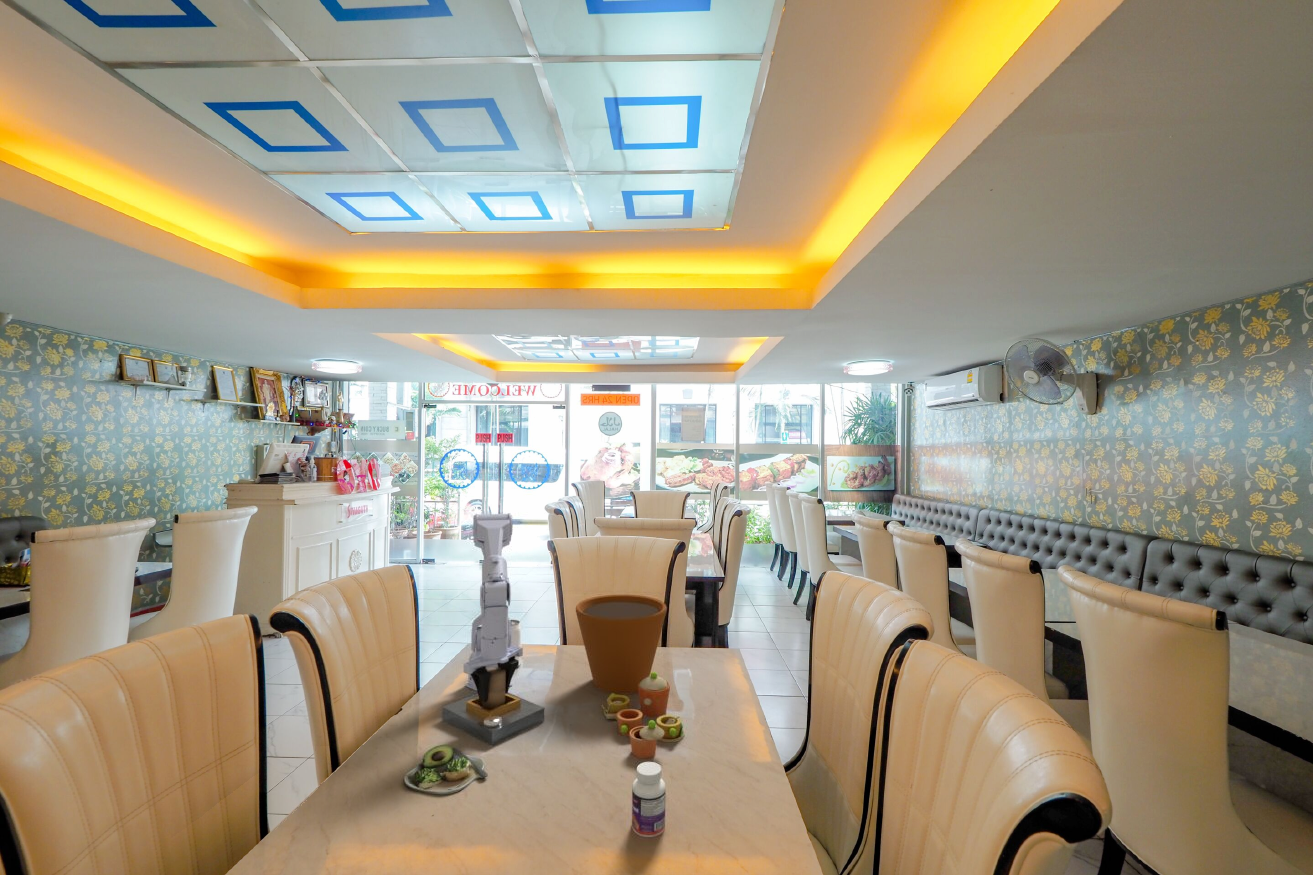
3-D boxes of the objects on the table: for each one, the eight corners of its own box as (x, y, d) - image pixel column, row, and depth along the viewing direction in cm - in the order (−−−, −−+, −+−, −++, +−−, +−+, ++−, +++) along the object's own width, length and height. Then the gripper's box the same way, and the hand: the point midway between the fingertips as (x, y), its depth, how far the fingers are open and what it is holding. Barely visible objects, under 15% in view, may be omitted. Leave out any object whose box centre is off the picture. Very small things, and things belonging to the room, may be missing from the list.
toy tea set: (598, 709, 136) (598, 668, 136) (660, 701, 141) (660, 661, 141) (628, 768, 111) (629, 717, 112) (702, 755, 116) (703, 707, 117)
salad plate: (506, 765, 112) (506, 747, 112) (461, 806, 99) (461, 785, 99) (443, 752, 117) (443, 734, 117) (392, 789, 104) (393, 769, 104)
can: (523, 661, 165) (524, 619, 165) (516, 670, 159) (516, 626, 159) (501, 660, 166) (502, 618, 166) (493, 669, 159) (494, 625, 160)
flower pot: (556, 680, 152) (558, 604, 153) (626, 659, 168) (627, 590, 169) (612, 711, 135) (613, 625, 135) (684, 684, 151) (685, 607, 151)
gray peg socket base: (442, 720, 129) (442, 699, 129) (494, 699, 140) (494, 680, 141) (491, 746, 118) (492, 724, 118) (544, 721, 129) (544, 700, 130)
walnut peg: (477, 708, 129) (478, 672, 129) (496, 700, 133) (496, 665, 133) (491, 714, 126) (491, 677, 126) (509, 706, 130) (510, 670, 130)
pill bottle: (631, 818, 96) (631, 759, 96) (663, 817, 96) (664, 758, 96) (632, 840, 90) (633, 778, 91) (666, 839, 91) (667, 776, 91)
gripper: (477, 647, 122) (476, 712, 121) (531, 631, 133) (530, 690, 133) (458, 640, 126) (457, 703, 126) (512, 625, 137) (511, 682, 137)
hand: (493, 696), depth 130 cm, fingers closed on walnut peg, 5 cm apart
